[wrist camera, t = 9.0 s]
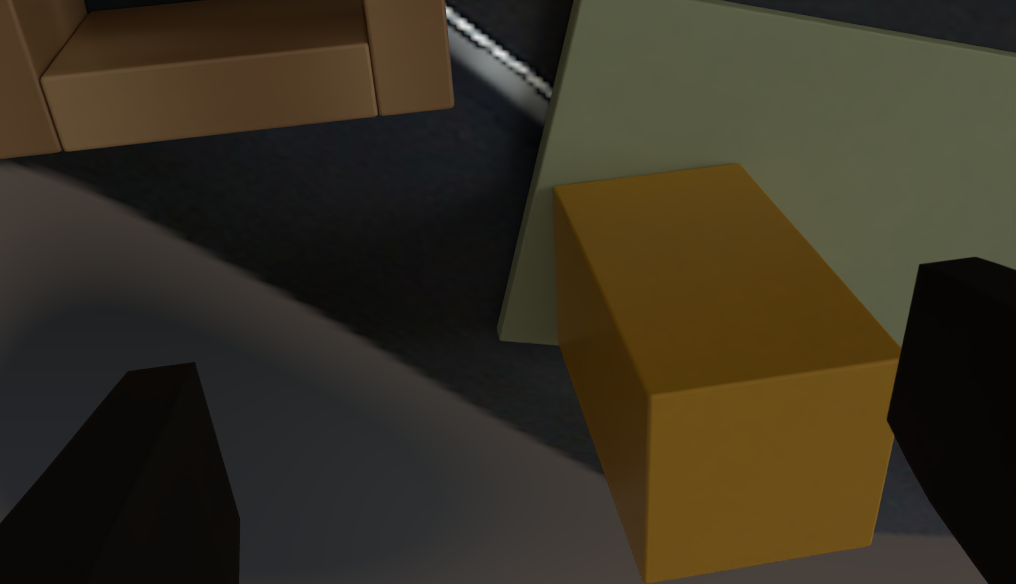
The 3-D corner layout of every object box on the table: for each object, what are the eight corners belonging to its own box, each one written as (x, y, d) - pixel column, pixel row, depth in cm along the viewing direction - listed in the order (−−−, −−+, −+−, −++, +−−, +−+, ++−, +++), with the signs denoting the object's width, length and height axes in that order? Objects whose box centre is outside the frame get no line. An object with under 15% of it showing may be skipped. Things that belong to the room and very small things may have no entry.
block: (557, 344, 22) (642, 586, 16) (552, 185, 19) (648, 397, 14) (727, 320, 22) (871, 547, 16) (740, 162, 20) (912, 357, 14)
